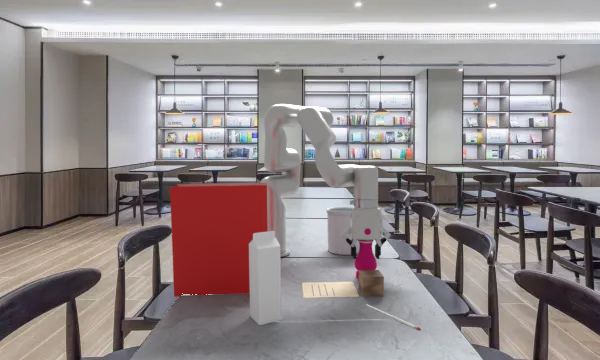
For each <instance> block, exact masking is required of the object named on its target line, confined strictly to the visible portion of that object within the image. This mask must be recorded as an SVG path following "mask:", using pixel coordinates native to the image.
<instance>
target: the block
mask: <svg viewBox="0 0 600 360" xmlns="http://www.w3.org/2000/svg"><path fill="white" fill-rule="evenodd" d="M384 285H385V277H384V275H383V274H382V272H381V271H380V270H379V269H375V270H359V279H358V290H359V292H360V295H361V296H362V297H368V298H369V297H384V293H385V286H384Z"/></svg>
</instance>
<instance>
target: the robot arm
mask: <svg viewBox="0 0 600 360" xmlns="http://www.w3.org/2000/svg"><path fill="white" fill-rule="evenodd" d="M333 124H334V117H333V113H332V112H331V110H329V109H328V108H326V107H321V106H313V105H308V106H307V105H306V106H304V105H297V104H288V103H277V104H274V105H271V106H270V107H269V108H268V109H267V110H266V112H265V114H264V119H263V125H264V127H263V128H264V152H263V153H264V155H263V156H264V157H263V165H264V168H265V171H268V172H270V173H281V174H277V175H276V174H275V175H268V176H265V177H264V178H262V179H261V180H260V182H259V183H267V222H268V232H269V231H275V237H276V239H277V241H278V243H279V244H280V258H283V257H287V256H288V255H290V254H291V250H290V249H289V248H288V247H287V216H286V214H287V211H286V206H285V204H284V202H283V200H282V199H286V198H293V197H294V196H296V195H297V194H298V192H299V190H300V181H301V165H302V162H301V161H302V160H301V156H300V155H299V152H298V151H297V150H296V149H294V148H290V147H287V141H288V139H287V134H286V131H285V129H284V128H298V129H299V128H300V129H301V130H302V131H303V132H304V134H305V135H306V137H307V138H308V140H309V142H310V144H311V145H312V147H313V148H314V162H315V167H316V169H317V171H318V172H319V174H320V176H321V178H322V179H323V181H324V182H325V183H326V185H328V186H329V187H331V188H333V189H342V188H350V187H354V188H353V189H354V192H353V193H354V194H353V195H354V197H353V199H352V200H349V205H352V207H353V208H352V212H351V220H350V227H349V228H347V229H346V230H345V231H344V232H343V233H342V234H341V236H342V237H343V238H344V239H345V240H346V242H347V243H348V244H349V245H350V246H351V255H350V256H351V257H352V259H353V260H355V259H356V257H357V254H356V247H355V244H356V242H357V240H374V242H375V245H374V257H375V259H376V260H380V256H381V255H382V246H383V245H384V244H385V243H386V242H387V240H388V239H389V238H390V237H391V236H392V234H391V233H390V232H389V231H388V230H387V229H385V227H384V226H383V216H382V210H381V208H380V207H379V169H378V167H377V166H375V165H359V164H354V163H353V164H352V163H349V164H348V163H347V164H338V163H337V161H336V159H335V158H334V157H333V155H332V152H331V148H332V147H333V145H334V144H335V143H336V142H337V136H336V134H335V132H334V131H333V130H332V128H331V127H332V126H333ZM367 228H369V229H370V230H371V234H370V235H366V234H365V232H364V231H365V229H367ZM349 233H350V235H351V237H352V239H351V240H350V239H349V238H348V237H347V235H348V234H349Z"/></svg>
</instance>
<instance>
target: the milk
mask: <svg viewBox="0 0 600 360" xmlns="http://www.w3.org/2000/svg"><path fill="white" fill-rule="evenodd" d="M281 262H282V261H281V257H280V244H279V243H278V241H277V239H276V237H275V231H269V232H261V233H254V234H253V240H252V241H251V242H250V243H249V280H250V293H249V317H251V318H252V320H254V322H255V323H256V324H257V325H258V326H264V325H267V324H271V323H274V322H275V323H276V322H277V321H281V320H282V287H281V286H282V281H281V280H282V279H281V278H282V277H281V275H282V273H281V271H282V270H281Z"/></svg>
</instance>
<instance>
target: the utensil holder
mask: <svg viewBox="0 0 600 360" xmlns="http://www.w3.org/2000/svg"><path fill="white" fill-rule="evenodd" d="M353 207H354V206H332V207H328V208H326V213H327V218H326V219H327V249H328V252H330V253H332V254H334V255H342V256H343V255H344V256H345V255H346V256H348V255H350V256H351V246H350V245H349V244H348V243H347V242H346V240H345V239H344V238H343V237H342V236H341V234H342V233H343V232H344V231H345V230H346V229H347V228H349V227H350V220H351V212H352V208H353ZM347 237H348V238H349V239H350V240H351V239H352V237H351V235H350V233H349V234H348V235H347ZM355 247H356V255H358V252H359V247H360V244H359V241H358V240H357V242H356V244H355Z"/></svg>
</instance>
